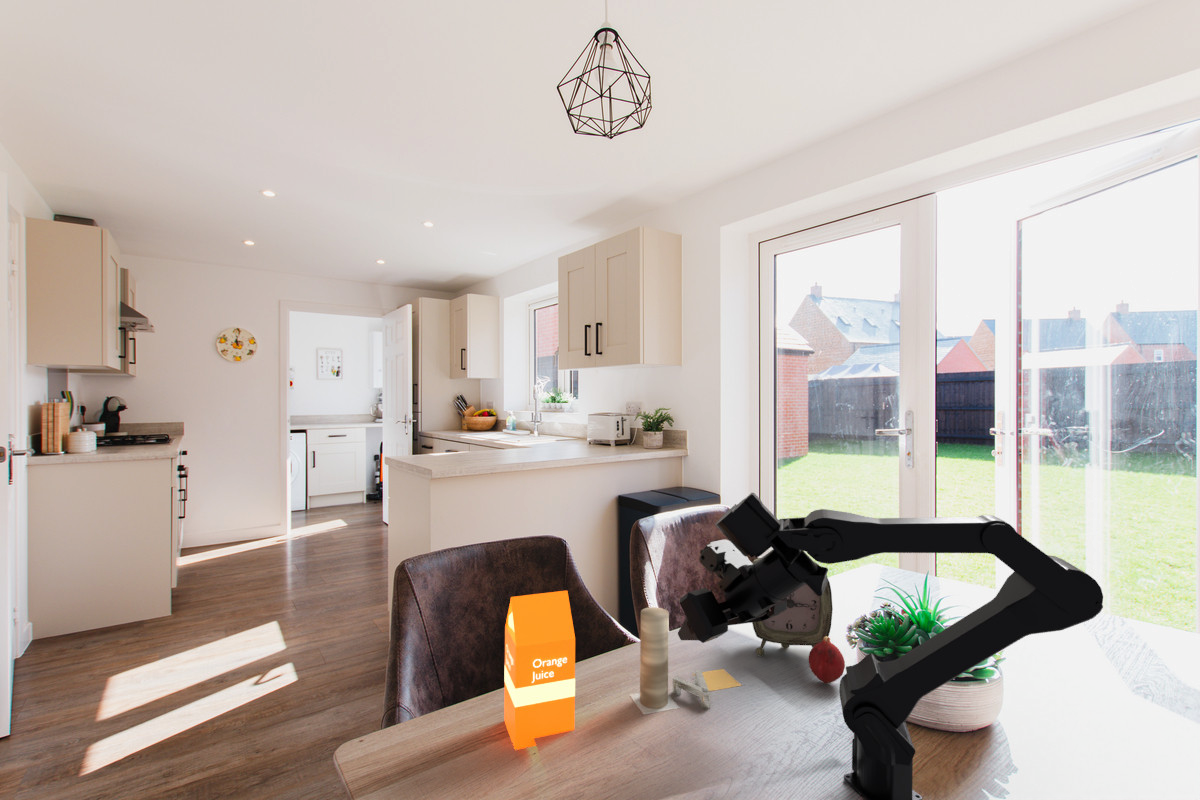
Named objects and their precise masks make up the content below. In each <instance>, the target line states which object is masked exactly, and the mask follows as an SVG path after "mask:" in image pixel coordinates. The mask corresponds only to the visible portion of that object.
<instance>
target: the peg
mask: <svg viewBox="0 0 1200 800" xmlns="http://www.w3.org/2000/svg"><path fill="white" fill-rule="evenodd" d="M669 615H670V613H669V611H668V610H667V609H665V608H662V607H657V606H655V607H654V606H651V607H645V608H643V609H641V610H640V645H639V646H640V649H639V650H640V654H639V657H640V660H639V666H640V667H639V674H640V675H639V693H640V703H641V704H642V705H643V706H645V707H648V708H652V709H659V708H663V707H665V706H666V705H667V704H668V695H669V642H670V641H669V637H670V633H669V631H670V629H669V625H670V624H669V622H670V621H669V619H670V616H669Z"/></svg>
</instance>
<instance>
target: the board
mask: <svg viewBox="0 0 1200 800" xmlns="http://www.w3.org/2000/svg"><path fill="white" fill-rule="evenodd" d="M694 674H695V673H692V676H694ZM702 674H703V676H704V679H705V682H706V684H707V687H708V690H709V691H710V692H714V691H719V690H727V689H730V688H731V689H732V688H736V687H741V686H742V684H741V683H740V682H738V680H737V679H735V678H734V676H732V675H731V674H729V672H727V670H725V669H724V668H720V669H714V670H709V671H702ZM628 695H629V697H630V698H631V699H632V701H633V702H634V704H635V705H636V706H637V708H638V709H639V710H640V712H641V713H642V715H643V716H646V715H650V714H656V713H660V712H661V713H662V712H666V711H671V710H676V709H680V706H679V705H678V703H676V702H675V700H673V698H672V697H671V696H670V694H668V704H667V705H666V706H665V707H663V708H659V709H652V708H648V707H645V706H643V705H642V704H641V703H640V692H635V693H630V694H628Z"/></svg>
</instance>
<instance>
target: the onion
mask: <svg viewBox="0 0 1200 800" xmlns="http://www.w3.org/2000/svg"><path fill="white" fill-rule="evenodd" d="M807 661H808V666H809V669H810V671H811V672H812V674H813V675H814V676H815V678H817V679H818V680H819V681H821V682H822V683H823V684H825V685H829V684H830V683H831V684H832V683H834V682H836V681H837V680H838V679H841V678H842V676H843V673H844V672H845V669H846V664H845V658H844V656H843V653H842V652H841V650H840V649H839V648H838V647H837V646H836V645H835V644H833V642H831V637H829V636H828V637H827V636H826V637H824V639H823V641H822V642H820V643H818V644H816V645H815V646H814V647H813V648H812V647H811V650H809V653H808V659H807Z"/></svg>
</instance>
